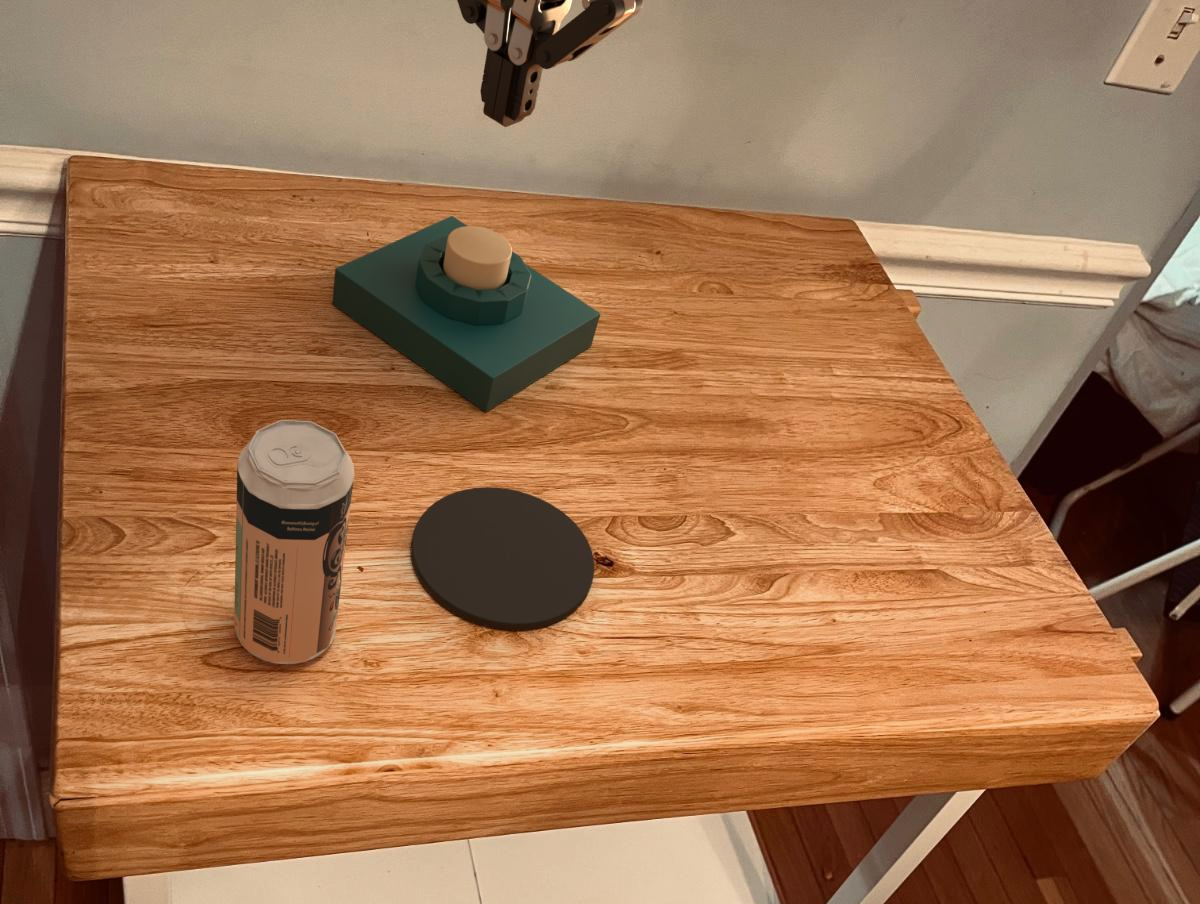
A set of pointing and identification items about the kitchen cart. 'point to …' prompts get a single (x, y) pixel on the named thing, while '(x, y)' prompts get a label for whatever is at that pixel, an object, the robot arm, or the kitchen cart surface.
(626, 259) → the kitchen cart surface
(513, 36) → the robot arm
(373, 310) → the push button base
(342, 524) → the beer can
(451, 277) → the button
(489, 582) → the coaster
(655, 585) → the kitchen cart surface
